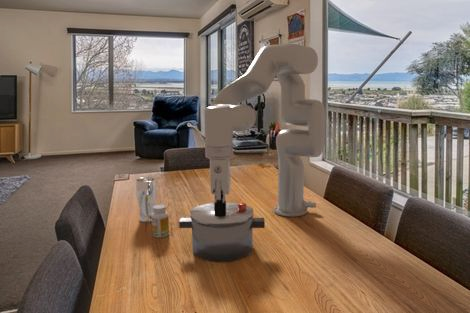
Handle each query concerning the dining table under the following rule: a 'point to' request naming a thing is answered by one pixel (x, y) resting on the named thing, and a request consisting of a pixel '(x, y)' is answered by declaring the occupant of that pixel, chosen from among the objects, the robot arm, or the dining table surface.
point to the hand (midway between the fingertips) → (220, 215)
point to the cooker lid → (233, 216)
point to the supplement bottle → (160, 221)
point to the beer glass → (146, 197)
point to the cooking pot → (222, 239)
